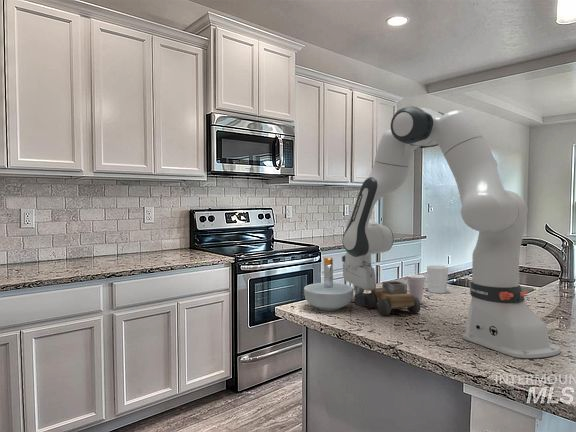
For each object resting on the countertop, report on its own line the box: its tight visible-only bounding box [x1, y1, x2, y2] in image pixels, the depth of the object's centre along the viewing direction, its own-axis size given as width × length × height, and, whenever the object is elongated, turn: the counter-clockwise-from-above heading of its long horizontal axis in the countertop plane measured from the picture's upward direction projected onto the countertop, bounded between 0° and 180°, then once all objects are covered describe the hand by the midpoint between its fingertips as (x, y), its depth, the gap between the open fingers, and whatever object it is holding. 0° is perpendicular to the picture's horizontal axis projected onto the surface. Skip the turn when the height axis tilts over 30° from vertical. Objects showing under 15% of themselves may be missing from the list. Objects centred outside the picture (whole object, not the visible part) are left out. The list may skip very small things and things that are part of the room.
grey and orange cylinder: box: [323, 257, 334, 288], centre depth 137 cm, size 3×3×10 cm
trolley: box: [365, 280, 422, 316], centre depth 134 cm, size 14×13×9 cm
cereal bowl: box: [303, 282, 355, 312], centre depth 137 cm, size 17×17×7 cm
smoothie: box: [406, 263, 426, 305], centre depth 143 cm, size 6×6×14 cm
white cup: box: [426, 264, 449, 294], centre depth 160 cm, size 8×8×10 cm
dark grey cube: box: [354, 292, 367, 307], centre depth 141 cm, size 4×4×4 cm
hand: (358, 297), depth 145 cm, fingers closed
